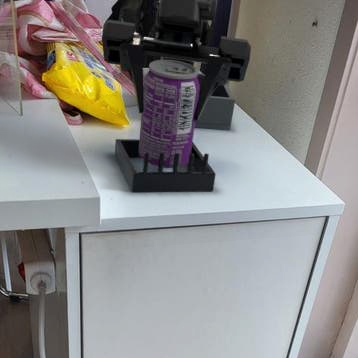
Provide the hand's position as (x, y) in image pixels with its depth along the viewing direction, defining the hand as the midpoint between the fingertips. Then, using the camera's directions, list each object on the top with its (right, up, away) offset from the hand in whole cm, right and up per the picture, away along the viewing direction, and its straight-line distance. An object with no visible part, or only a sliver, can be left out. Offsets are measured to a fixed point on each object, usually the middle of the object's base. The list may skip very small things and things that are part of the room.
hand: (168, 115), depth 83 cm
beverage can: (-1, -4, +6) cm, 7 cm away
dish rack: (-1, -5, +6) cm, 8 cm away
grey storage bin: (+3, +11, +25) cm, 27 cm away
